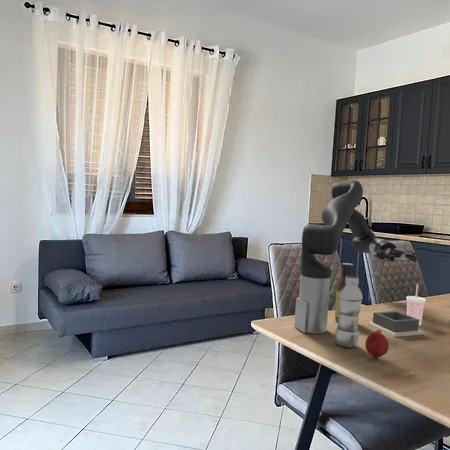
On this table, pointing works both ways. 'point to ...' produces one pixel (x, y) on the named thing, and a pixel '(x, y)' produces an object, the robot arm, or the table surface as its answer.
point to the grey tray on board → (395, 324)
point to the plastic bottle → (349, 313)
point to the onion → (377, 344)
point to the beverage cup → (415, 306)
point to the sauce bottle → (342, 284)
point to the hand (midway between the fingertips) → (404, 259)
